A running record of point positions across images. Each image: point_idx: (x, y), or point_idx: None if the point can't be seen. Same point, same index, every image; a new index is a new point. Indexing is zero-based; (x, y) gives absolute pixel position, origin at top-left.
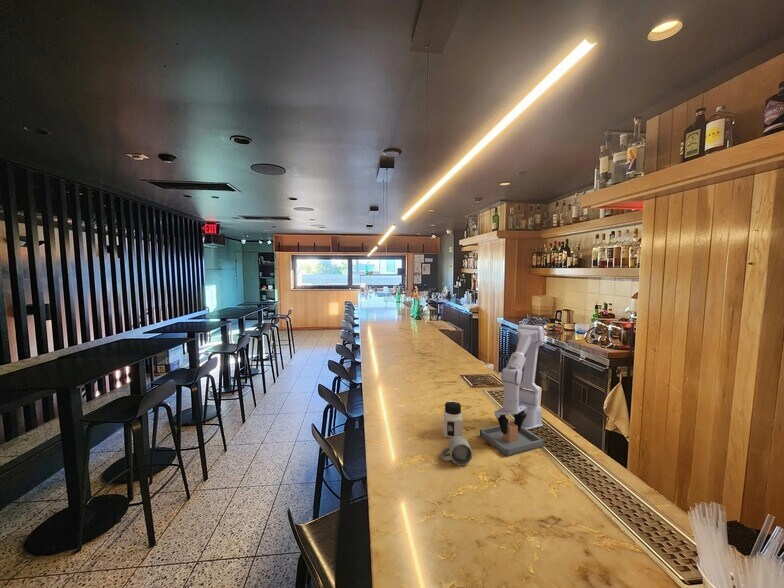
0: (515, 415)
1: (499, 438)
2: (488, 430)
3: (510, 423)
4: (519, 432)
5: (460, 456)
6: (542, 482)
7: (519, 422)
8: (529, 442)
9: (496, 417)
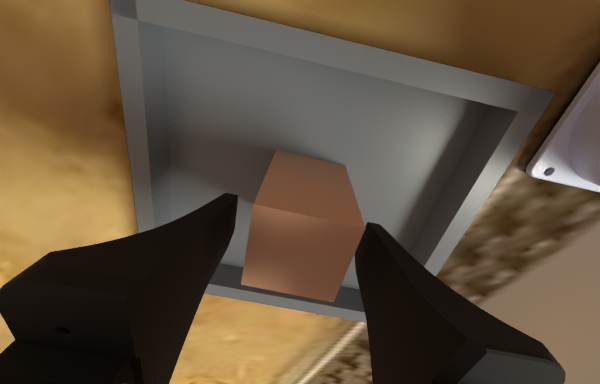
0: (415, 330)
1: (246, 145)
2: (212, 37)
3: (318, 250)
4: (435, 175)
5: None
6: (181, 366)
7: (371, 319)
8: (316, 305)
9: (80, 251)
